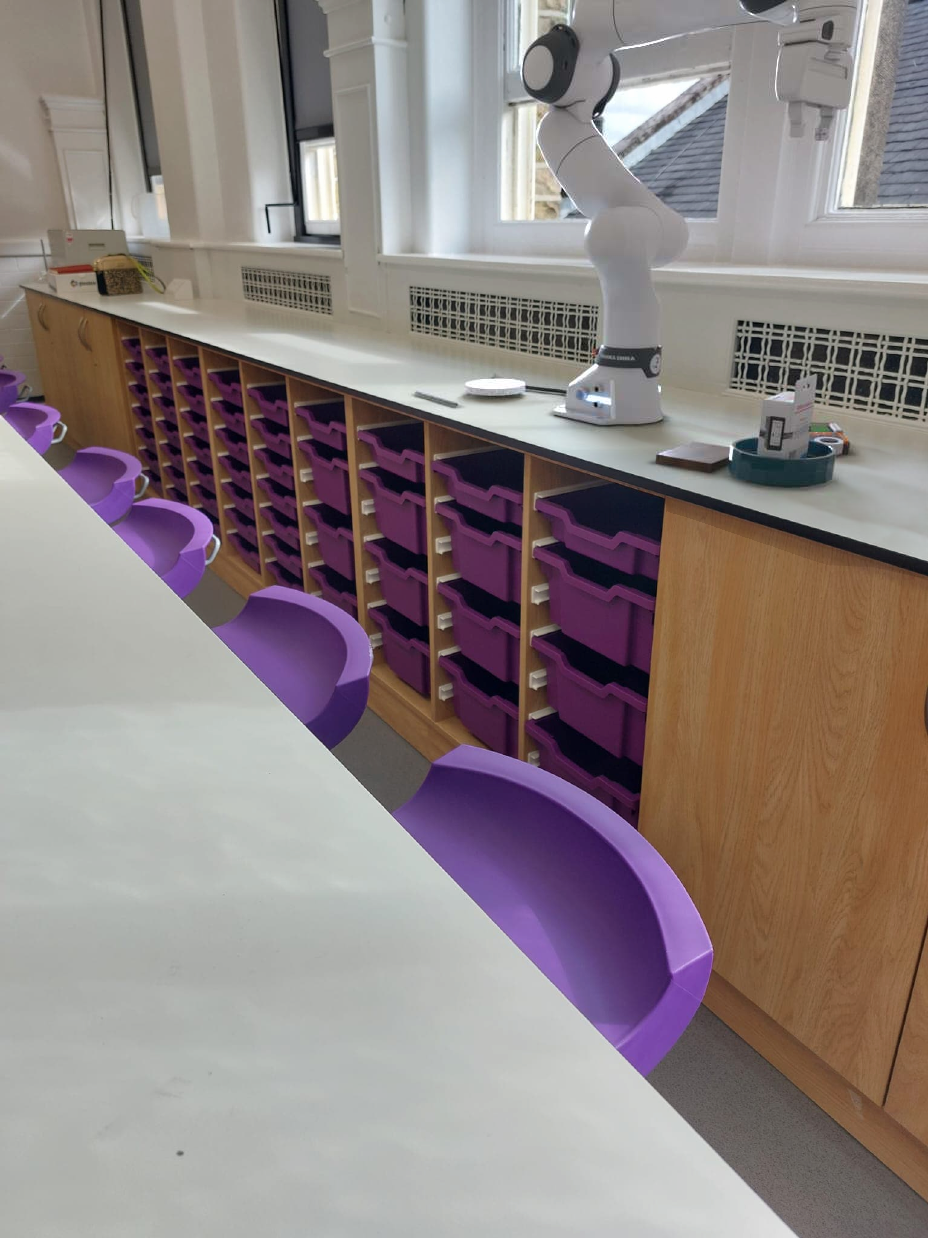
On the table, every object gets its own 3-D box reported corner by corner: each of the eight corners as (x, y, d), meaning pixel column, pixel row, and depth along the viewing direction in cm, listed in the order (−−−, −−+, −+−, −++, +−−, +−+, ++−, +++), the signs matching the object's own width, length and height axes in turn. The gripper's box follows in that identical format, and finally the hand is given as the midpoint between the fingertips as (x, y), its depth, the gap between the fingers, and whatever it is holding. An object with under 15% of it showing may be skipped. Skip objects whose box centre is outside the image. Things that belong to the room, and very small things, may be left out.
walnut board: (655, 463, 144) (656, 454, 144) (692, 449, 152) (693, 441, 152) (710, 473, 138) (711, 463, 137) (745, 458, 146) (747, 449, 145)
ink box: (774, 464, 140) (787, 370, 134) (805, 469, 137) (819, 373, 131) (752, 476, 134) (764, 377, 128) (784, 481, 131) (798, 380, 125)
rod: (455, 406, 191) (455, 403, 191) (415, 394, 206) (415, 391, 206) (458, 406, 192) (458, 402, 191) (417, 393, 207) (417, 390, 206)
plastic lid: (475, 401, 197) (475, 390, 196) (458, 391, 209) (458, 380, 208) (533, 397, 201) (534, 386, 199) (513, 387, 213) (513, 377, 212)
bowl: (710, 477, 135) (713, 449, 133) (755, 459, 145) (758, 432, 144) (806, 495, 126) (810, 464, 124) (847, 474, 136) (852, 445, 134)
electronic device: (812, 442, 145) (796, 419, 159) (809, 459, 147) (793, 435, 160) (855, 443, 144) (835, 420, 158) (852, 460, 146) (832, 436, 159)
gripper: (829, 46, 142) (816, 143, 148) (773, 29, 128) (761, 136, 134) (868, 41, 138) (854, 140, 144) (815, 22, 125) (801, 133, 130)
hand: (808, 138), depth 139 cm, fingers open, 8 cm apart
